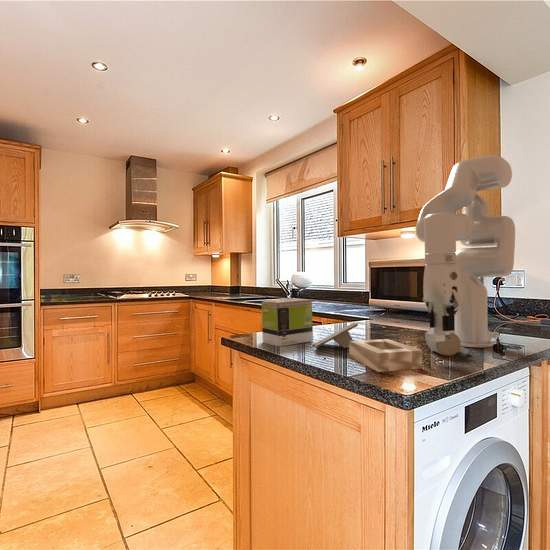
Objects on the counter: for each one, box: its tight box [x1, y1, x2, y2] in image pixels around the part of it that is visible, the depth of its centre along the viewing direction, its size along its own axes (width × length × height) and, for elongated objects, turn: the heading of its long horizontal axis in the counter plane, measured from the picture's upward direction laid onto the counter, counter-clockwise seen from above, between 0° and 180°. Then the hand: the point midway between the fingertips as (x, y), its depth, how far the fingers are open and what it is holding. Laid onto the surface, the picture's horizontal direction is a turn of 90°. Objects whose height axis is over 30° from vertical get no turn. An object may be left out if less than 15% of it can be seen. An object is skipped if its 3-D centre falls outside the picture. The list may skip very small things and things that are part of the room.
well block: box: [348, 338, 423, 373], centre depth 96 cm, size 12×16×4 cm
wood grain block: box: [424, 302, 450, 342], centre depth 96 cm, size 4×4×10 cm
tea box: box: [261, 298, 314, 347], centre depth 125 cm, size 15×10×15 cm, turn 124°
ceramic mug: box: [425, 327, 469, 357], centre depth 106 cm, size 11×8×8 cm
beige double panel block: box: [313, 321, 360, 349], centre depth 114 cm, size 16×9×15 cm
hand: (441, 328), depth 96 cm, fingers closed on wood grain block, 4 cm apart
